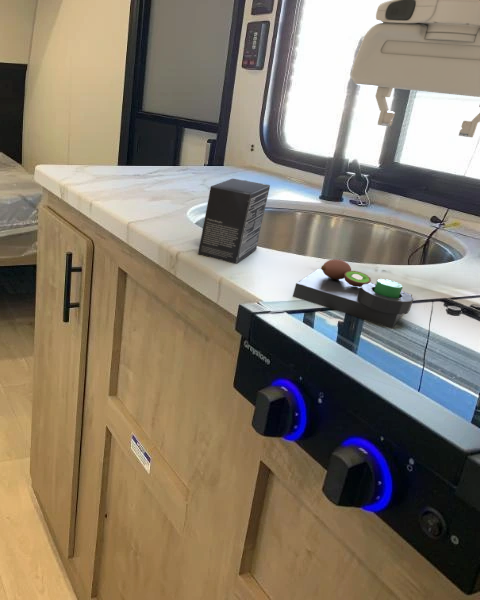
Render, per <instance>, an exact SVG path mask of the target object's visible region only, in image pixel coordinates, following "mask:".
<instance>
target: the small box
mask: <svg viewBox="0 0 480 600" xmlns="http://www.w3.org/2000/svg"><path fill="white" fill-rule="evenodd" d="M270 187H271V185H270V184H266V183H261V182H256V181H250V180H243V179H237V178H230V179H227V180H225V181H221V182H219V183H215V184H213V185H210V188H209V193H208V199H207V203H206V210H205V215H204V220H203V225H202V231H201V237H200V240H199V246H198V251H197V254H198V255H201V256H205V257H208V258H209V257H210V258H211V259H212V258H213V259H216V260H220V261H224V262H228V263H232V264H239V263H240V262H242V260H244V259H246V258H247V257H248V256H249V255H251V254H252V253H254V252H255V251H256V250H257V248H258V242H259V237H260V232H261V227H262V223H263V219H264V215H265V210H266V205H267V202H268V197H269V192H270Z"/></svg>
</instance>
